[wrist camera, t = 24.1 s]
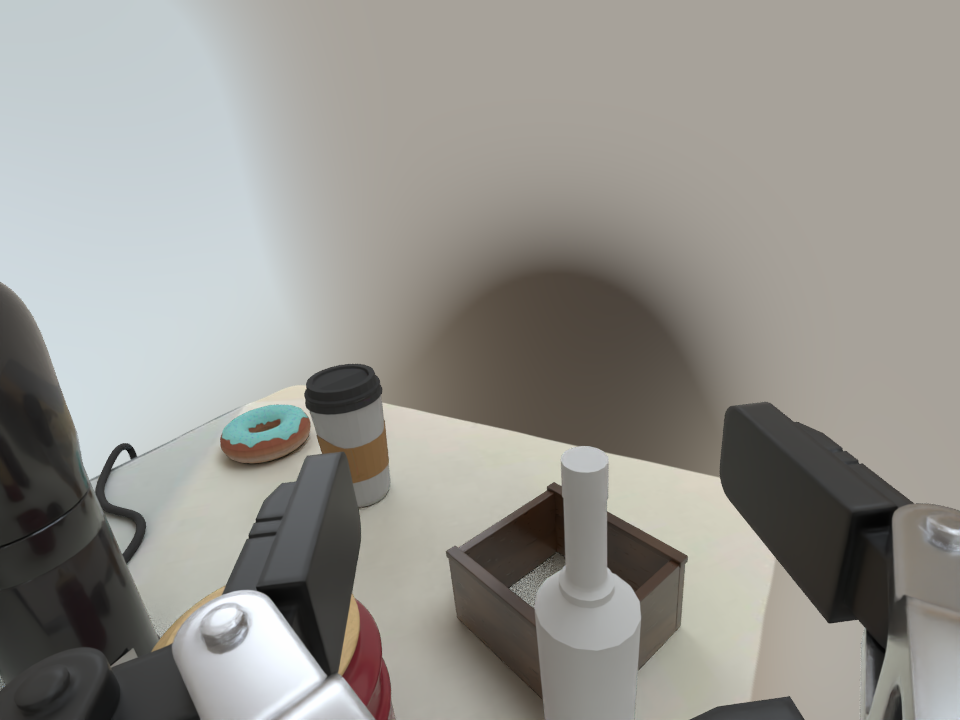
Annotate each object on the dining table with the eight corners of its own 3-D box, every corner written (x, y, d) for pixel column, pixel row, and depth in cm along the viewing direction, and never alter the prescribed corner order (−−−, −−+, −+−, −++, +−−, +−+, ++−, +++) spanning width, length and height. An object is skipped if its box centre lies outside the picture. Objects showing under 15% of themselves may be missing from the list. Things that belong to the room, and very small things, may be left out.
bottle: (576, 876, 31) (563, 511, 21) (532, 783, 35) (505, 447, 25) (652, 829, 32) (673, 471, 23) (601, 746, 37) (601, 418, 27)
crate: (455, 617, 48) (445, 551, 45) (556, 542, 55) (554, 481, 52) (578, 736, 38) (576, 660, 35) (682, 625, 45) (688, 555, 42)
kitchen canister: (423, 703, 41) (386, 508, 34) (389, 943, 29) (321, 718, 22) (252, 707, 42) (183, 518, 35) (152, 941, 30) (15, 724, 23)
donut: (314, 456, 74) (308, 430, 72) (219, 478, 71) (211, 451, 69) (312, 416, 85) (306, 393, 83) (229, 434, 82) (221, 410, 80)
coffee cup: (413, 487, 65) (394, 372, 60) (354, 524, 60) (327, 402, 54) (372, 463, 71) (351, 356, 65) (315, 495, 66) (286, 382, 60)
